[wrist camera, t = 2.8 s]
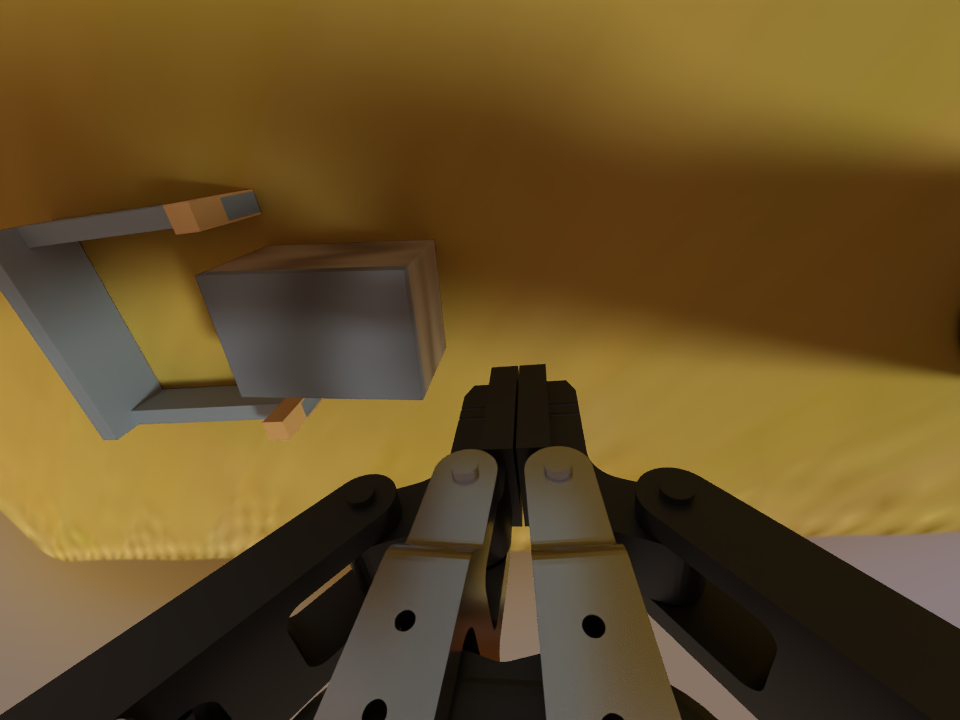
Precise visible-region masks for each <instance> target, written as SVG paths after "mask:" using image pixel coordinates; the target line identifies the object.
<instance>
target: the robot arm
mask: <svg viewBox="0 0 960 720" xmlns="http://www.w3.org/2000/svg"><path fill="white" fill-rule="evenodd" d="M522 512H524V521H525V526H529V527H530V538H531V554H532V565H533V577H534V587H535V599H536V610H537V621H538V631H539V642H540V654H537V655H533V656H529V657H526V658H521V659H517V660H513V661H508V662H500V636H501V628H502V620H503V612H504V605H505V596H506V589H507V582H508V574H509V566H510V545H511V532H512V526H522ZM349 564H350V565H351V568H352V570H350V571H349V572H348V573H347V574H346V575H344V576H343V577H342V578H341V579H339V580H338V581H337V582H336V583H335V584H333V585H332V586H331V587H330V588H328V589H327V590H326V591H325V592H324V593H322V594H321V595H320V596H319V597H318V598H316V599H315V600H314V601H313V602H312V603H310V604H309V605H308V606H307V607H305V608H304V609H303V610H302V611H300V612H299V613H298V614H296V615H295V616H293V617H290V615H291V613H292V612H293V611H294V609H295V608H296V607H297V606H298V605H299V604H300V603H301V602H303V601H304V600H305V599H306V598H308V597H309V596H310V595H311V594H313V593H314V592H315V591H316V590H318V589H319V588H320V587H321V586H323V585H324V584H325V583H326V582H328V581H329V580H330V579H331V578H333V577H334V576H335V575H336V574H338V573H339V572H340V571H341V570H342V569H344V568H345V567H346V566H347V565H349ZM647 613H648V614H649V615H650V616H651V617H652V618H653V619H654V620H655V621H656V622H657V623H658V624H659V625H660V626H661V627H662V628H663V629H665V630H666V632H668V633H669V634H670V635H671V636H672V637H673V638H674V639H675V640H676V641H677V642H678V643H679V644H680V645H681V646H682V647H683V648H684V649H685V650H686V651H687V652H688V653H689V654H690V655H691V656H693V658H695V659H696V660H697V661H698V662H699V663H700V664H701V665H702V666H703V667H704V668H705V669H706V670H707V671H708V672H709V673H710V674H711V675H712V676H713V677H714V678H715V679H716V680H717V681H718V682H720V683H721V684H722V685H723V686H724V687H725V688H726V689H727V690H728V691H729V692H730V693H731V694H732V695H733V696H734V697H735V698H736V699H737V700H738V701H739V702H740V703H741V704H742V705H743V706H745V707H746V708H747V709H748V710H749V711H750V712H751V713H752V714H753V715H754V716H755V717H756V718H757V719H758V720H960V629H959V628H957V627H955V626H954V625H952V624H950V623H949V622H947V621H945V620H943V619H942V618H940V617H938V616H937V615H935V614H933V613H932V612H930V611H928V610H926V609H925V608H923V607H921V606H920V605H918V604H916V603H915V602H913V601H911V600H909V599H908V598H906V597H904V596H903V595H901V594H899V593H897V592H896V591H894V590H892V589H891V588H889V587H887V586H886V585H884V584H882V583H880V582H879V581H877V580H875V579H874V578H872V577H870V576H869V575H867V574H865V573H863V572H862V571H860V570H858V569H856V568H855V567H853V566H851V565H850V564H848V563H846V562H845V561H843V560H841V559H839V558H838V557H836V556H834V555H833V554H831V553H829V552H828V551H826V550H824V549H822V548H821V547H819V546H817V545H816V544H814V543H812V542H811V541H809V540H807V539H805V538H804V537H802V536H800V535H799V534H797V533H795V532H794V531H792V530H790V529H788V528H787V527H785V526H783V525H782V524H780V523H778V522H777V521H775V520H773V519H771V518H770V517H768V516H766V515H765V514H763V513H761V512H759V511H758V510H756V509H754V508H753V507H751V506H749V505H748V504H746V503H744V502H742V501H741V500H739V499H737V498H736V497H734V496H732V495H731V494H729V493H727V492H725V491H724V490H722V489H720V488H719V487H717V486H715V485H713V484H712V483H710V482H708V481H707V480H705V479H703V478H702V477H700V476H698V475H696V474H694V473H691V472H689V471H686V470H682V469H677V468H657V469H653V470H650V471H648V472H646V473H644V474H643V475H642V476H641V477H640V478H639V479H638V481H637V482H635V481H630V480H625V479H621V478H617V477H614V476H611V475H609V474H606V473H605V472H603V471H601V470H600V469H598V468H597V467H596V466H595V465H594V464H593V463H592V462H591V461H590V459H589V457H588V455H587V451H586V445H585V440H584V434H583V429H582V423H581V418H580V412H579V406H578V401H577V395H576V390H575V389H574V388H573V387H572V386H571V385H570V384H569V383H568V382H567V381H566V380H563V381H547V380H546V366H545V364H537V365H522V366H520V367H519V370H518V366H508V367H492V370H491V376H490V382H489V385H479V386H474V387H473V388H472V389H471V390H470V391H469V392H468V393H467V394H466V396H465V397H464V401H463V405H462V410H461V414H460V420H459V422H458V426H457V430H456V434H455V438H454V442H453V446H452V450H451V454H449V455H447V456H446V457H444V458H443V459H442V460H441V461H440V462H439V463H438V464H437V465H436V467H435V469H434V471H433V474H432V477H431V478H430V479H428V480H425V481H423V482H420V483H417V484H413V485H410V486H406V487H402V488H399V489H396V487H395V484H394V482H393V481H392V480H391V479H390V478H388V477H387V476H384V475H379V474H370V475H364V476H360V477H358V478H355V479H353V480H351V481H349V482H347V483H346V484H344V485H343V486H341V487H340V488H338V489H337V490H335V491H334V492H332V493H331V494H329V495H328V496H326V497H325V498H323V499H322V500H320V501H319V502H317V503H316V504H314V505H313V506H311V507H310V508H308V509H307V510H305V511H304V512H302V513H301V514H299V515H298V516H296V517H295V518H293V519H292V520H290V521H289V522H287V523H286V524H285V525H283V526H282V527H280V528H279V529H277V530H276V531H274V532H273V533H271V534H270V535H268V536H267V537H265V538H264V539H262V540H261V541H259V542H258V543H256V544H255V545H253V546H252V547H250V548H249V549H247V550H246V551H244V552H243V553H241V554H240V555H238V556H237V557H235V558H234V559H232V560H231V561H229V562H228V563H226V564H225V565H223V566H222V567H220V568H219V569H218V570H216V571H214V572H213V573H211V574H210V575H209V576H207V577H206V578H204V579H203V580H201V581H200V582H198V583H197V584H195V585H194V586H192V587H191V588H189V589H188V590H186V591H185V592H183V593H182V594H180V595H179V596H177V597H176V598H174V599H173V600H171V601H170V602H168V603H167V604H165V605H164V606H162V607H161V608H159V609H158V610H156V611H155V612H153V613H152V614H150V615H149V616H147V617H146V618H144V619H143V620H141V621H140V622H138V623H137V624H135V625H134V626H132V627H131V628H129V629H128V630H126V631H125V632H124V633H122V634H121V635H119V636H117V637H116V638H115V639H113V640H112V641H110V642H109V643H107V644H106V645H104V646H103V647H101V648H100V649H98V650H97V651H95V652H94V653H92V654H91V655H89V656H88V657H86V658H85V659H84V660H82V661H80V662H79V663H77V664H76V665H74V666H73V667H71V668H70V669H68V670H67V671H65V672H64V673H62V674H61V675H60V676H58V677H57V678H55V679H53V680H52V681H50V682H49V683H48V684H46V685H45V686H43V687H42V688H40V689H38V690H37V691H36V692H34V693H33V694H31V695H30V696H28V697H27V698H25V699H24V700H22V701H21V702H19V703H18V704H16V705H15V706H13V707H12V708H10V709H9V710H7V711H6V712H4V713H3V714H1V715H0V720H289V719H290V718H292V717H293V715H295V714H296V713H297V712H298V711H299V710H300V709H301V708H302V707H303V706H304V705H305V704H306V703H307V702H308V701H309V700H310V699H311V698H312V697H313V696H314V695H315V694H316V693H317V692H318V691H320V690H321V689H322V687H324V686H325V685H326V684H327V683H328V682H329V681H330V682H329V685H328V687H327V688H326V689H325V690H324V691H322V692H321V693H320V694H318V696H316V697H315V698H314V699H313V700H312V701H311V702H310V703H309V704H307V705H306V706H305V708H303V709H302V710H301V711H300V712H299V714H298V715H297V716H296V717H295V718H294V719H293V720H718V719H716V718H715V717H714V716H713V715H712V714H711V713H710V712H709V711H708V710H707V709H705V708H704V707H703V706H701V705H700V704H699V703H698V702H696V701H695V700H694V699H692V698H691V697H689V696H688V695H687V694H685V693H684V692H682V691H680V690H678V689H677V688H675V687H674V686H672V685H670V682H669V679H668V676H667V673H666V670H665V667H664V664H663V661H662V657H661V655H660V651H659V648H658V645H657V642H656V639H655V636H654V633H653V630H652V627H651V623H650V620H649V617H648V614H647ZM289 617H290V618H289Z"/></svg>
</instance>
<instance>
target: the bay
mask: <svg viewBox="0 0 960 720" xmlns="http://www.w3.org/2000/svg"><path fill="white" fill-rule="evenodd" d="M260 214H261V211H260V209H259V206H258V203H257V200H256V197H255V195H254V192H253V189H250V190H243V191H236V192H230V193H224V194H219V195H214V196H208V197H203V198H198V199H192V200H187V201H182V202H176V203H170V204H163V205H156V206H149V207H142V208H135V209H129V210H122V211H115V212H108V213H101V214H95V215H88V216H81V217H74V218H67V219H60V220H54V221H48V222H42V223H36V224H31V225H25V226H19V227H14V228H8V229H2V230H0V290H1V292H2V293H3V294H4V296H5V297H6V299H7V300H8V302H9V303H10V305H11V306H12V308H13V309H14V310H15V312H16V313H17V315H18V316H19V318H20V319H21V321H22V322H23V324H24V325H25V326H26V328H27V329H28V331H29V332H30V334H31V335H32V337H33V338H34V340H35V341H36V342H37V344H38V345H39V347H40V348H41V350H42V351H43V353H44V354H45V356H46V357H47V358H48V360H49V361H50V363H51V364H52V366H53V367H54V369H55V370H56V372H57V373H58V374H59V376H60V377H61V379H62V380H63V382H64V383H65V385H66V386H67V388H68V389H69V390H70V392H71V393H72V395H73V396H74V398H75V399H76V401H77V402H78V404H79V405H80V406H81V408H82V409H83V411H84V412H85V414H86V415H87V417H88V418H89V420H90V421H91V422H92V424H93V425H94V427H95V428H96V430H97V431H98V433H99V434H100V436H101V437H102V438H103V440H118V439H119V438H121V437H122V436H123V435H125V434H126V433H128V432H129V431H130V430H132V429H133V428H135V427H136V426H137V425H139V424H160V423H184V422H209V421H233V420H257V419H265V420H264V421H263V422H262V424H263V426H264V428H265V430H266V432H267V434H268V437H269V439H270V440H290V439H291V438H292V437H293V436H294V435H295V433H296V432H297V431H298V430H299V428H300V427H301V426H302V425H303V424H304V422H305V421H306V420H307V419H308V417H309V416H310V415H311V414H312V412H313V411H314V410H315V409H316V408H317V406H318V405H319V404H320V403H321V401H322V400H323V399H324V398H269V397H242V396H241V394H240V391H239V388H238V386H237V385H232V386H214V387H197V388H180V389H162V388H161V386H160V384H159V382H158V380H157V379H156V377H155V375H154V373H153V372H152V370H151V368H150V366H149V365H148V363H147V361H146V359H145V358H144V356H143V354H142V352H141V351H140V349H139V347H138V345H137V343H136V342H135V340H134V338H133V336H132V335H131V333H130V331H129V329H128V328H127V326H126V324H125V322H124V321H123V319H122V317H121V315H120V313H119V312H118V310H117V308H116V306H115V305H114V303H113V301H112V299H111V298H110V296H109V294H108V292H107V291H106V289H105V287H104V285H103V283H102V282H101V280H100V278H99V276H98V275H97V273H96V271H95V269H94V268H93V266H92V264H91V262H90V261H89V259H88V257H87V255H86V254H85V252H84V250H83V248H82V246H81V245H80V243H79V241H84V240H91V239H98V238H106V237H113V236H121V235H128V234H136V233H143V232H151V231H158V230H165V229H174V232H175V234H176V235H179V234H186V233H194V232H201V231H204V230H208V229H211V228H215V227H218V226H222V225H225V224H229V223H232V222H236V221H239V220H243V219H246V218H250V217H253V216H257V215H260Z"/></svg>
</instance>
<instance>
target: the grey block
mask: <svg viewBox="0 0 960 720" xmlns="http://www.w3.org/2000/svg"><path fill="white" fill-rule="evenodd" d="M195 278H196V280H197V283H198V285H199V288H200V291H201V293H202V296H203V298H204V301H205V303H206V306H207V309H208V311H209V314H210V316H211V319H212V321H213V324H214V327H215V329H216V332H217V334H218V337H219V339H220V342H221V345H222V347H223V350H224V352H225V355H226V358H227V360H228V363H229V365H230V368H231V370H232V373H233V376H234V378H235V381H236V383H237V386H238V388H239V391H240V394H241V396H242V397H269V398H329V399H389V400H423V399H424V397H425V394H426V392H427V390H428V387H429V385H430V383H431V381H432V378H433V376H434V374H435V371H436V369H437V367H438V364H439V362H440V360H441V358H442V355H443V353H444V351H445V348H446V341H445V332H444V323H443V314H442V305H441V296H440V287H439V278H438V269H437V260H436V251H435V242H434V240H407V241H380V242H353V243H325V244H298V245H271V246H266V247H264V248H261V249H259V250H257V251H254V252H252V253H249V254H247V255H244V256H242V257H239V258H237V259H234V260H232V261H230V262H227V263H225V264H222V265H220V266H217V267H215V268H212V269H210V270H207V271H205V272H203V273H200V274H198V275H195Z"/></svg>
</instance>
